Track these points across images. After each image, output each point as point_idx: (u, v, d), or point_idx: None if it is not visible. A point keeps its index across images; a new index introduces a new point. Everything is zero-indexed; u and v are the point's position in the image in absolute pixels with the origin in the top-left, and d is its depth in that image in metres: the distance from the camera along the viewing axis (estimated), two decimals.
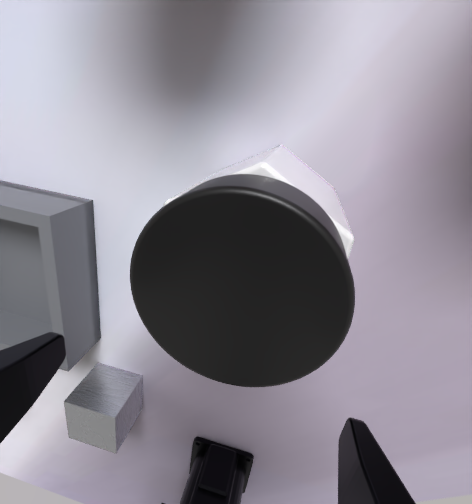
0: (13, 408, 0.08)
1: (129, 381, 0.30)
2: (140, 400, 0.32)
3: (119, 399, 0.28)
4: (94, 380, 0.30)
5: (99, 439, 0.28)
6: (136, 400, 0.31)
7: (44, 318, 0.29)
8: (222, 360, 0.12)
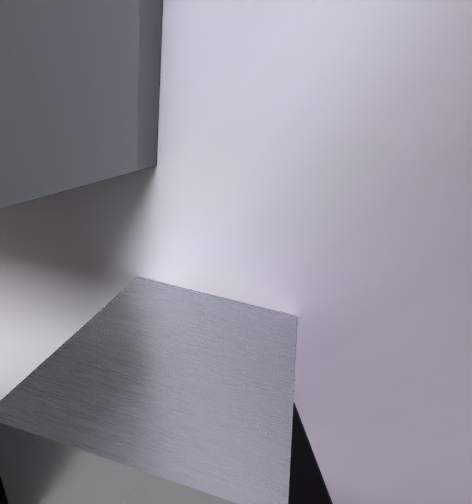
0: None
1: (264, 334, 0.08)
2: None
3: (261, 406, 0.06)
4: (133, 328, 0.07)
5: None
6: None
7: None
8: None
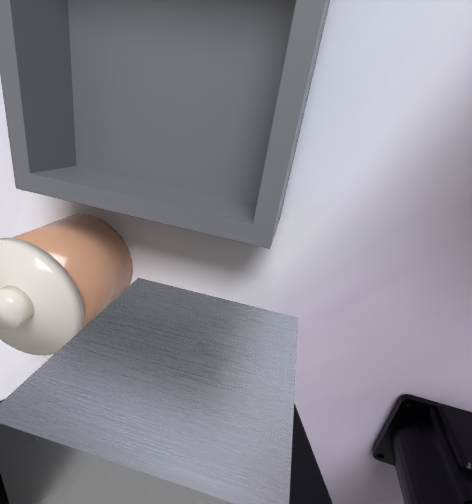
0: None
1: (265, 335, 0.08)
2: None
3: (262, 407, 0.06)
4: (134, 329, 0.07)
5: None
6: None
7: (195, 183, 0.18)
8: None
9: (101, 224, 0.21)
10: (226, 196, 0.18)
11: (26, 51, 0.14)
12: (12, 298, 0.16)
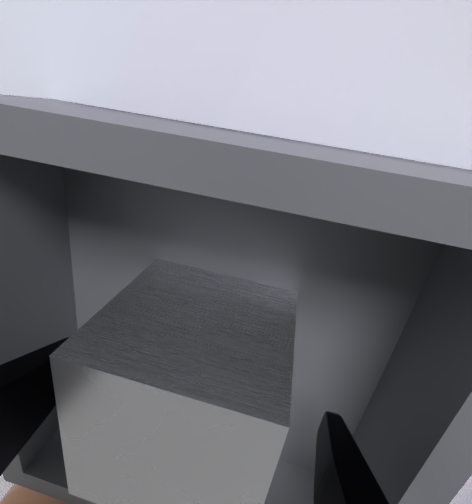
0: (33, 415, 0.08)
1: (269, 304, 0.09)
2: None
3: (268, 355, 0.07)
4: (158, 297, 0.09)
5: None
6: None
7: None
8: None
9: None
10: (283, 459, 0.13)
11: (13, 350, 0.10)
12: None
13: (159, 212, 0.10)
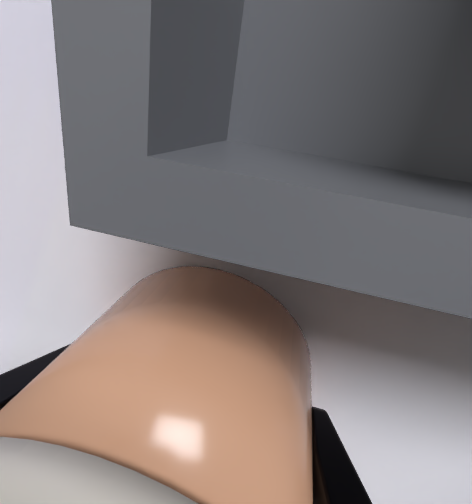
0: None
1: None
2: None
3: None
4: None
5: None
6: None
7: None
8: None
9: (255, 291, 0.08)
10: None
11: None
12: None
13: None
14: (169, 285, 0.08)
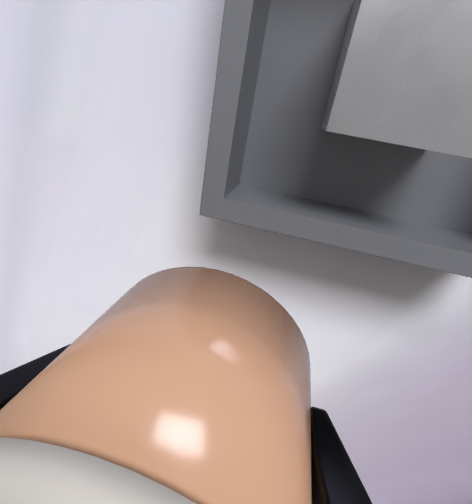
0: None
1: None
2: None
3: None
4: None
5: (444, 106, 0.09)
6: None
7: (389, 206, 0.15)
8: None
9: (254, 292, 0.08)
10: (427, 221, 0.15)
11: (248, 54, 0.12)
12: None
13: None
14: (168, 286, 0.08)
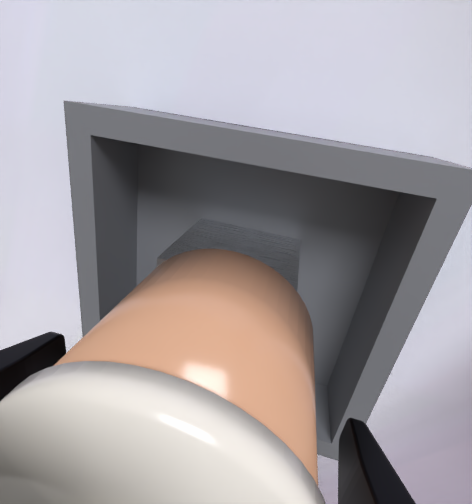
0: None
1: (281, 244, 0.14)
2: None
3: (283, 265, 0.12)
4: (209, 237, 0.13)
5: None
6: None
7: None
8: None
9: (266, 270, 0.10)
10: None
11: (105, 279, 0.14)
12: None
13: (205, 184, 0.15)
14: (193, 263, 0.09)
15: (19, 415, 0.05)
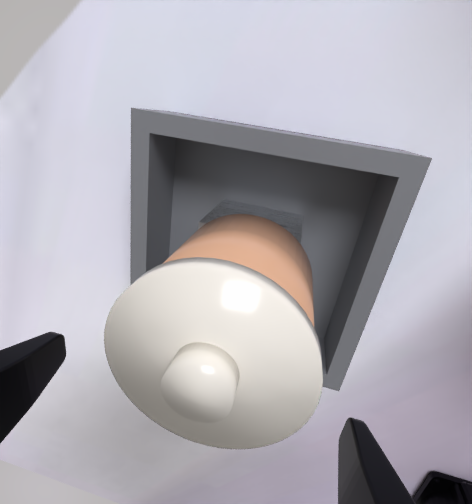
0: (13, 408, 0.08)
1: (288, 217, 0.18)
2: None
3: (290, 230, 0.16)
4: (233, 211, 0.17)
5: None
6: None
7: None
8: None
9: (279, 228, 0.14)
10: None
11: (151, 245, 0.18)
12: (221, 370, 0.09)
13: (228, 172, 0.19)
14: (229, 221, 0.13)
15: (152, 283, 0.09)
